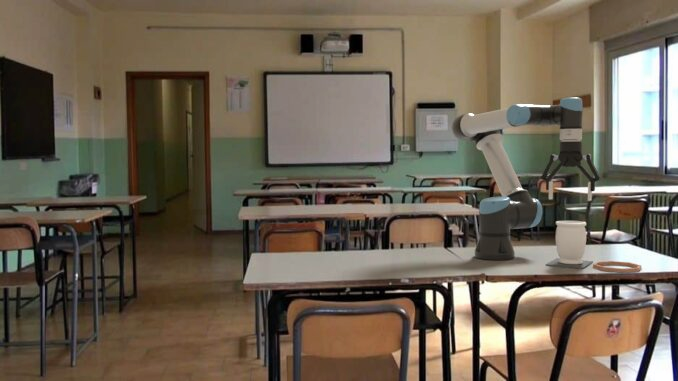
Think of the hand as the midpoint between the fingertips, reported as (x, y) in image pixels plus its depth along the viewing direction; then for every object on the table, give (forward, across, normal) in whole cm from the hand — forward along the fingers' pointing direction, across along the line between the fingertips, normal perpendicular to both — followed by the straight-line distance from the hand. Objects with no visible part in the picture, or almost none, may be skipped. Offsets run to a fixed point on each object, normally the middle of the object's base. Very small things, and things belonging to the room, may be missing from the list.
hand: (569, 200), depth 224 cm
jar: (+23, +1, 0) cm, 23 cm away
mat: (+23, 0, 0) cm, 23 cm away
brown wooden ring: (+23, +16, 0) cm, 28 cm away
